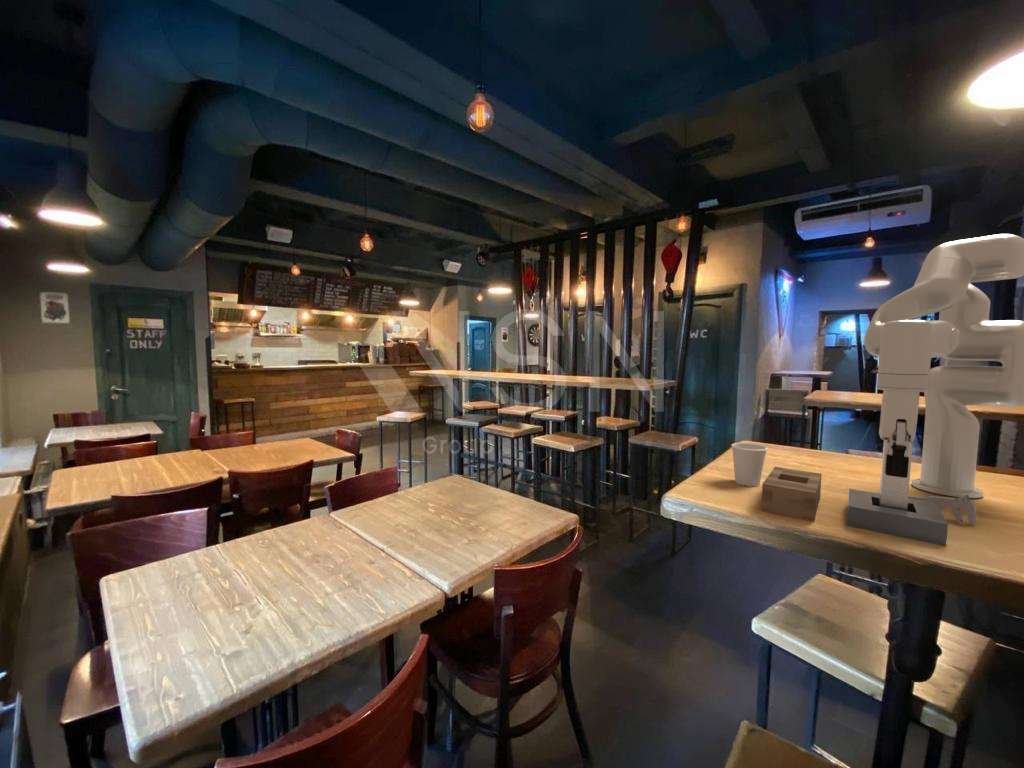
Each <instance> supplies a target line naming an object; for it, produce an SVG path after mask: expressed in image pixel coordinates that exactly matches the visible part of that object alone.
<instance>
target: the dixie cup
mask: <svg viewBox="0 0 1024 768" xmlns="http://www.w3.org/2000/svg"><path fill="white" fill-rule="evenodd" d="M730 446H731V450H732V460H733V469H734V481H735V483H736V482H737V483H736V484H738V483H739V484H738V485H740V484H742V485H741V486H744V485H747V486H746V487H752V486H755V487H759V486H760V485H761V479H762V475H763V469H764V465H765V459H766V454H767V451H768V447H767V446H765V445H762V444H757V443H751V442H735V443H732V444H730ZM758 485H759V486H758Z"/></svg>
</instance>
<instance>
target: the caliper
mask: <svg viewBox="0 0 1024 768" xmlns="http://www.w3.org/2000/svg"><path fill="white" fill-rule="evenodd" d="M872 492H873V493H879V494H880V492H876V491H872ZM957 496H958V497H950V496H946V497H944V496H937V495H935V496H934V495H928V496H925V497H924V496H916V495H915V496H914V495H908V498H910V499H916V500H922V501H928V502H934V503H937V505H938V507H939V508H940V510H941V511H942V510H946V509H947V510H950V512H951V514H952V515H953V517H954V519H955V521H956V522H957V521H958V522H957V523H960V522H962V523H964V520H963V515H962V511H961V509H962V510H964V509H965V512H966V516H967V520H968V523H969V525H970V526H973V525H975V524H976V521H977V507H976V503H975V501H974V500H972V499H970V498H969V495H968V494H967V495H965V496H964V497H963V496H962V495H961V494H957Z"/></svg>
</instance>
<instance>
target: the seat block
mask: <svg viewBox="0 0 1024 768" xmlns="http://www.w3.org/2000/svg"><path fill="white" fill-rule="evenodd" d="M848 489H849V490H848V501H847V503H848V504H847V518H846V520H847V521H846V526H849V527H854V528H858V529H863V530H867V531H873V532H878V533H883V534H887V535H892V536H896V537H901V538H907V539H910V540H911V539H912V540H915V541H916V540H917V541H921V542H926V543H931V544H936V545H940V546H947V541H948V540H947V538H948V528H949V527H948V526H949V524H948V522H947V519H946V518H945V517H944V514H943V513H942V510H940V508H939V507H938V505H937V503H934V502H928V501H922V500H916V499H910V498H908V507H907V511H903V510H897V509H891V508H886V507H880V506H879V498H880V494H879V493H880V492H878V493H873V492H874V491H868V490H867V491H865V490H860V489H854V488H848Z"/></svg>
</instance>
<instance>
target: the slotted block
mask: <svg viewBox="0 0 1024 768" xmlns="http://www.w3.org/2000/svg"><path fill="white" fill-rule="evenodd" d="M821 486H822V473H820V472H814V471H806V470H800V469H793V468H787V467H780V466H774V467H773V468H772V470H771V471H770V472H769V474H768V475H767V477H766V479H765V480H764V481H763V482H762V486H761V490H762V491H761V505H760V506H761V507H760V509H761V510H763V512H766V511H767V512H768V513H771V512H772V514H776V515H780V514H781V516H785V517H791V518H796V519H800V520H804V521H810V522H815V519H816V515H817V511H818V508H819V505H818V504H820V500H821V492H822V491H821V489H822V487H821ZM761 510H760V511H761Z"/></svg>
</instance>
